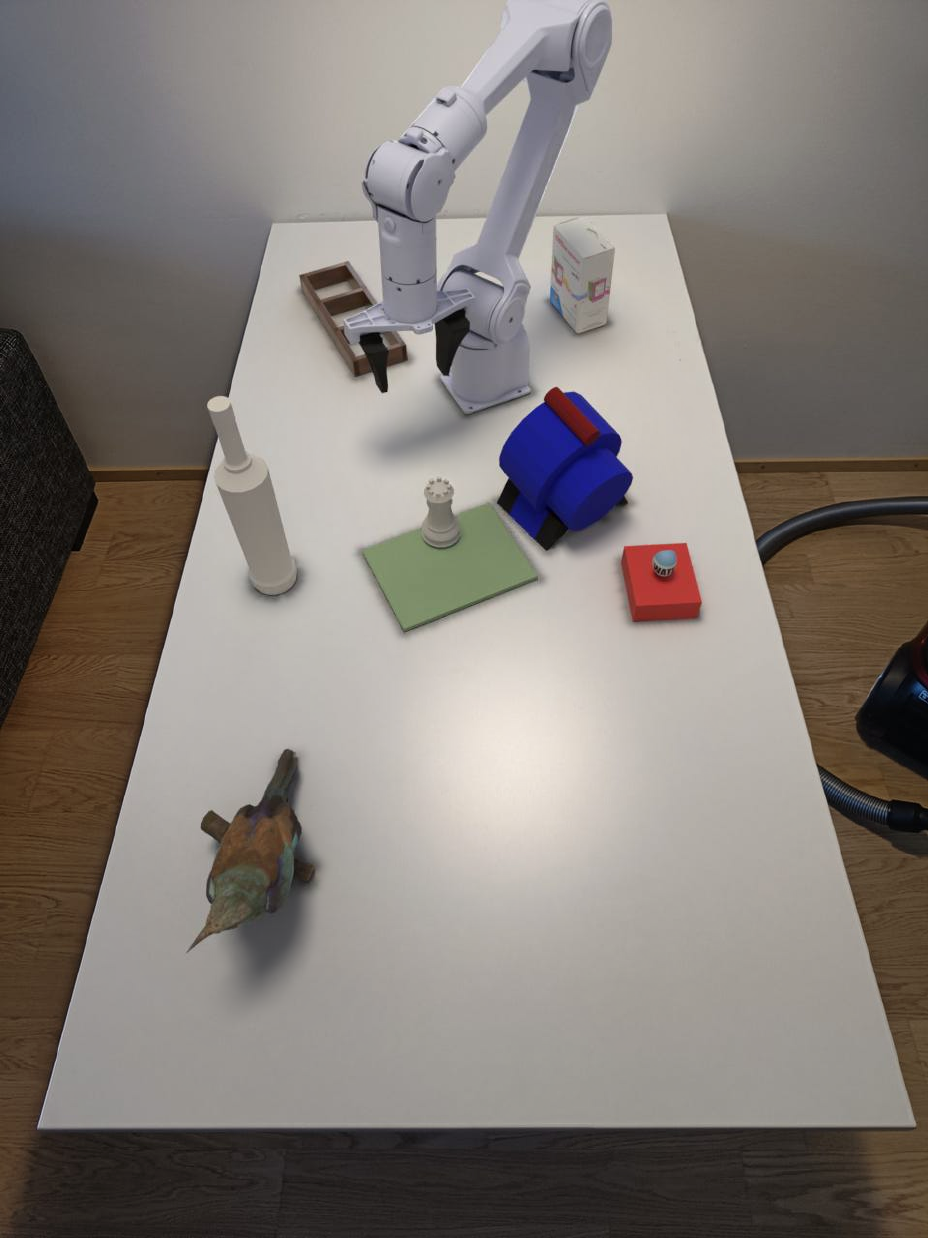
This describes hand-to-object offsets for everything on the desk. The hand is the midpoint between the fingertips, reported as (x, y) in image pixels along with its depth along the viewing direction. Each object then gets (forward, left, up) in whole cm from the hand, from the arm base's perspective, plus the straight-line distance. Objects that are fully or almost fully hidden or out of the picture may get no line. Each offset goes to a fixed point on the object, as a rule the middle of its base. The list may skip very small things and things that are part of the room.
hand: (412, 378), depth 101 cm
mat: (+5, +19, -10) cm, 22 cm away
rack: (-1, -26, -10) cm, 28 cm away
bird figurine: (+34, +43, -10) cm, 55 cm away
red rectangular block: (-14, +32, -10) cm, 37 cm away
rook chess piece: (+4, +15, -10) cm, 19 cm away
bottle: (+23, +12, -10) cm, 28 cm away
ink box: (-30, -14, -10) cm, 35 cm away
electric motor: (-11, +17, -10) cm, 23 cm away
